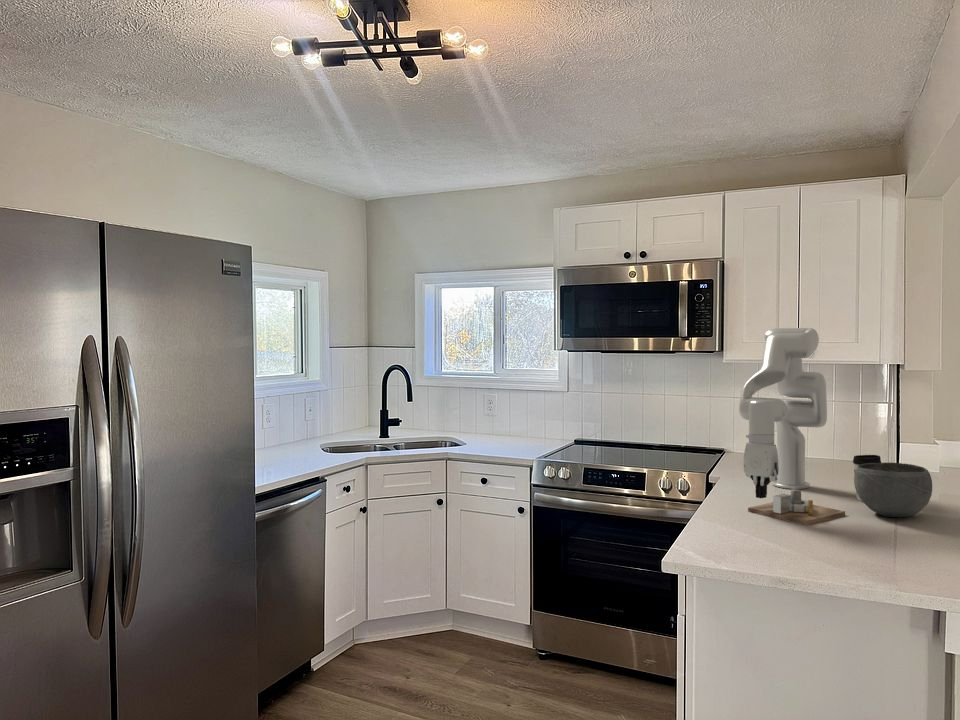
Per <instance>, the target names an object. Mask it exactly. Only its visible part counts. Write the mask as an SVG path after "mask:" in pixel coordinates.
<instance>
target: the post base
mask: <svg viewBox="0 0 960 720" xmlns="http://www.w3.org/2000/svg"><path fill="white" fill-rule="evenodd" d="M790 495H791V503H792V504H801V500H802V489H790ZM807 501H808V512H794V511H792V512H791V511H790V512H786V513H782V514H780V513H775V512H773V501H772V502H768V503H767V502H766V503H763V504H758V505H754V506H750V507H747V512H748V511H750V512H749V513H753V512H754V513H753V514H757V513H758V515H761V514H762V516H766V517H771V518H774V519H779V520H784V521H788V522H791V523H796V524H800V525H804V526H805V525H806V526H808V525H811V524H816V523H820V522H825V521H829V520H832V519H835V518H839V517H840V518H841V517H843V516H846V511H844V510H840V509H835V508H830V507H827V506H826V507H825V506H820V505H816V504H814V500H812V499H811V500H810V499H808V500H807Z"/></svg>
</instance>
